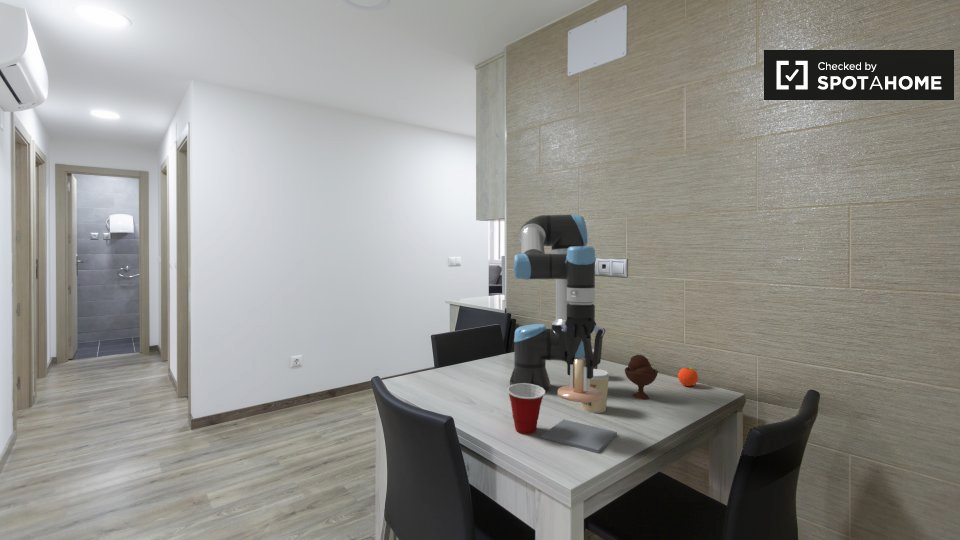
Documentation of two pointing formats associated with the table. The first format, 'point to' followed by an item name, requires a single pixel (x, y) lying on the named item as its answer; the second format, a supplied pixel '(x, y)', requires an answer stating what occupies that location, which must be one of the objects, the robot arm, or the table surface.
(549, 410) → the table surface
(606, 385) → the coffee cup
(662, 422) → the table surface
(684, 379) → the clementine
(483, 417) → the table surface
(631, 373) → the ice cream bowl
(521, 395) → the plastic cup
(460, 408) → the table surface
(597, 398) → the lid
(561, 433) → the mat
